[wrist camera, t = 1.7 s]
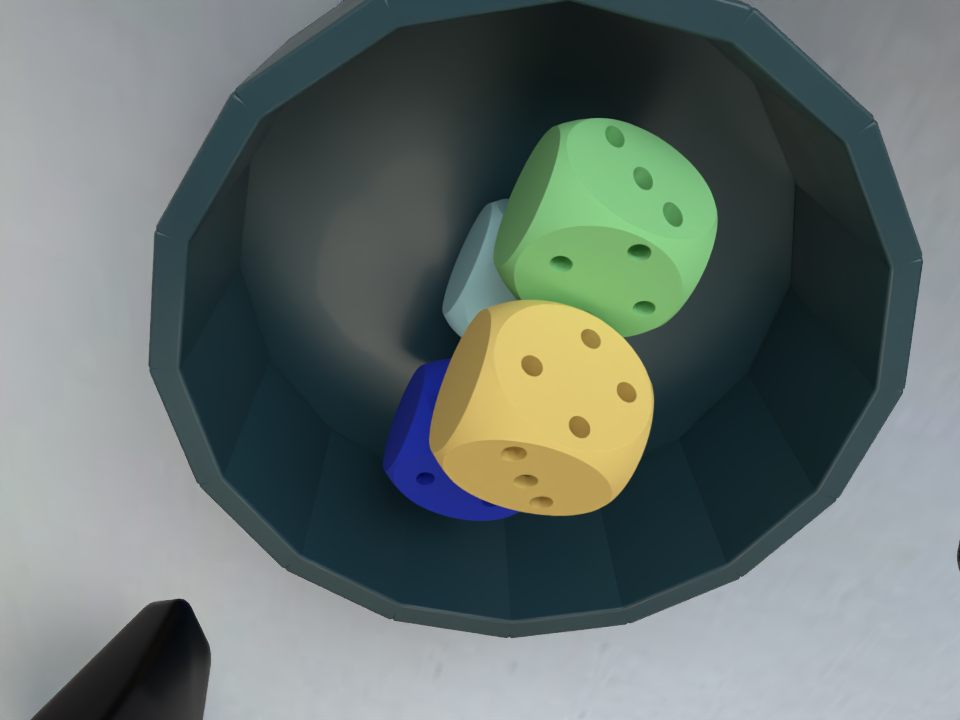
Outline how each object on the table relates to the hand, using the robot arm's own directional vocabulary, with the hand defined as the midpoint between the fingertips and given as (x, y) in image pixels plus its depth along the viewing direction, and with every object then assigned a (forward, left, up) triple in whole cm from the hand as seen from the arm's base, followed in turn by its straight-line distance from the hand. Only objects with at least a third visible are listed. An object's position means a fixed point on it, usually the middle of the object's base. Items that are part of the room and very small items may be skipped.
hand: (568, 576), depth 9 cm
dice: (0, 0, -8) cm, 8 cm away
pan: (0, 0, -9) cm, 9 cm away
